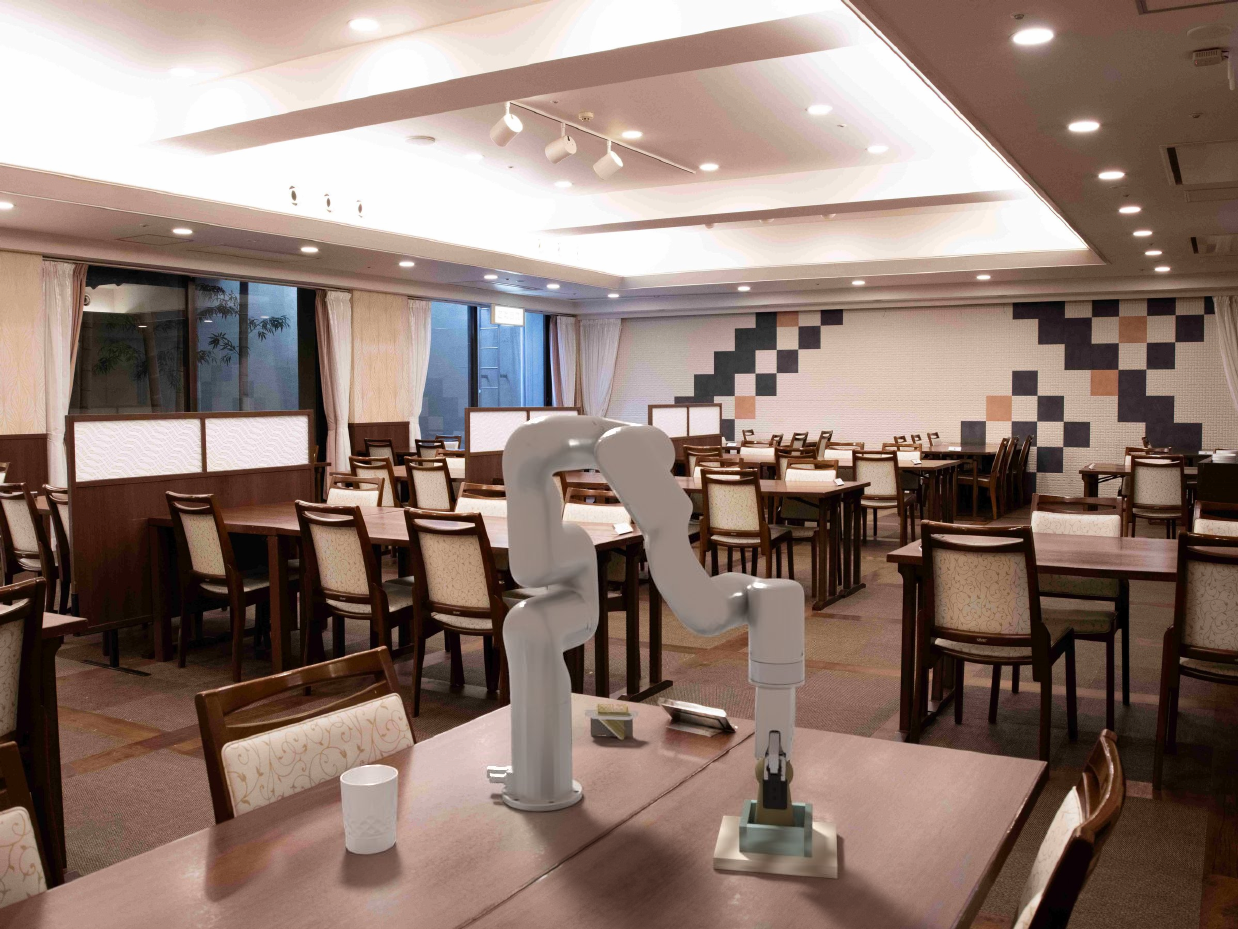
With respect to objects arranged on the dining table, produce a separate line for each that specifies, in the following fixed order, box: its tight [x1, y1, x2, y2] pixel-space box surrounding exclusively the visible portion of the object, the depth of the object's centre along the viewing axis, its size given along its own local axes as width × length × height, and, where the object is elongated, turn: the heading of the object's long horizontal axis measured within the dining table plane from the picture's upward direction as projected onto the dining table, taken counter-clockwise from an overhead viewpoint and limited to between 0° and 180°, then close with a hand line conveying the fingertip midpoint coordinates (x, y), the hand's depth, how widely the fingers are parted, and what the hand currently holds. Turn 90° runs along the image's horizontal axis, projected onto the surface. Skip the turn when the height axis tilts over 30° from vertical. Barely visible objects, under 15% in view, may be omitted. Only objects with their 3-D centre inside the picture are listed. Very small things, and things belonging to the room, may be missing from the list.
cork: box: [754, 757, 795, 827], centre depth 138 cm, size 6×6×11 cm
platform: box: [584, 703, 639, 740], centre depth 186 cm, size 12×18×7 cm, turn 82°
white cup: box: [339, 764, 399, 855], centre depth 141 cm, size 8×8×10 cm
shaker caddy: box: [712, 798, 838, 879], centre depth 137 cm, size 16×14×5 cm
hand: (776, 794), depth 137 cm, fingers open, 9 cm apart
